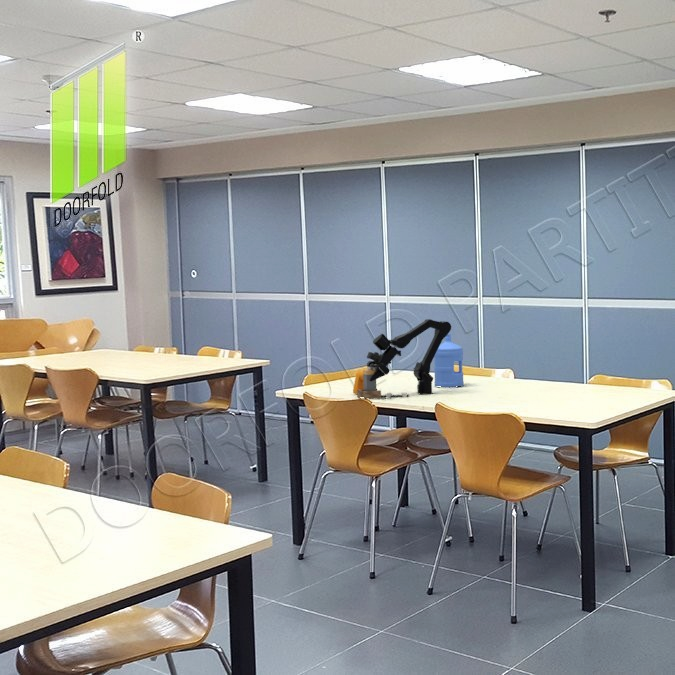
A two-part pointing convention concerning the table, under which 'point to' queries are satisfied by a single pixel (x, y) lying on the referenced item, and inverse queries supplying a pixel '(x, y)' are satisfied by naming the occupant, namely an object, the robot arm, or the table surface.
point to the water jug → (448, 364)
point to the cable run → (393, 395)
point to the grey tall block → (368, 380)
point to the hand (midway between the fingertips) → (367, 380)
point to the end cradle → (368, 394)
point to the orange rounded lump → (358, 382)
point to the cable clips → (391, 394)
